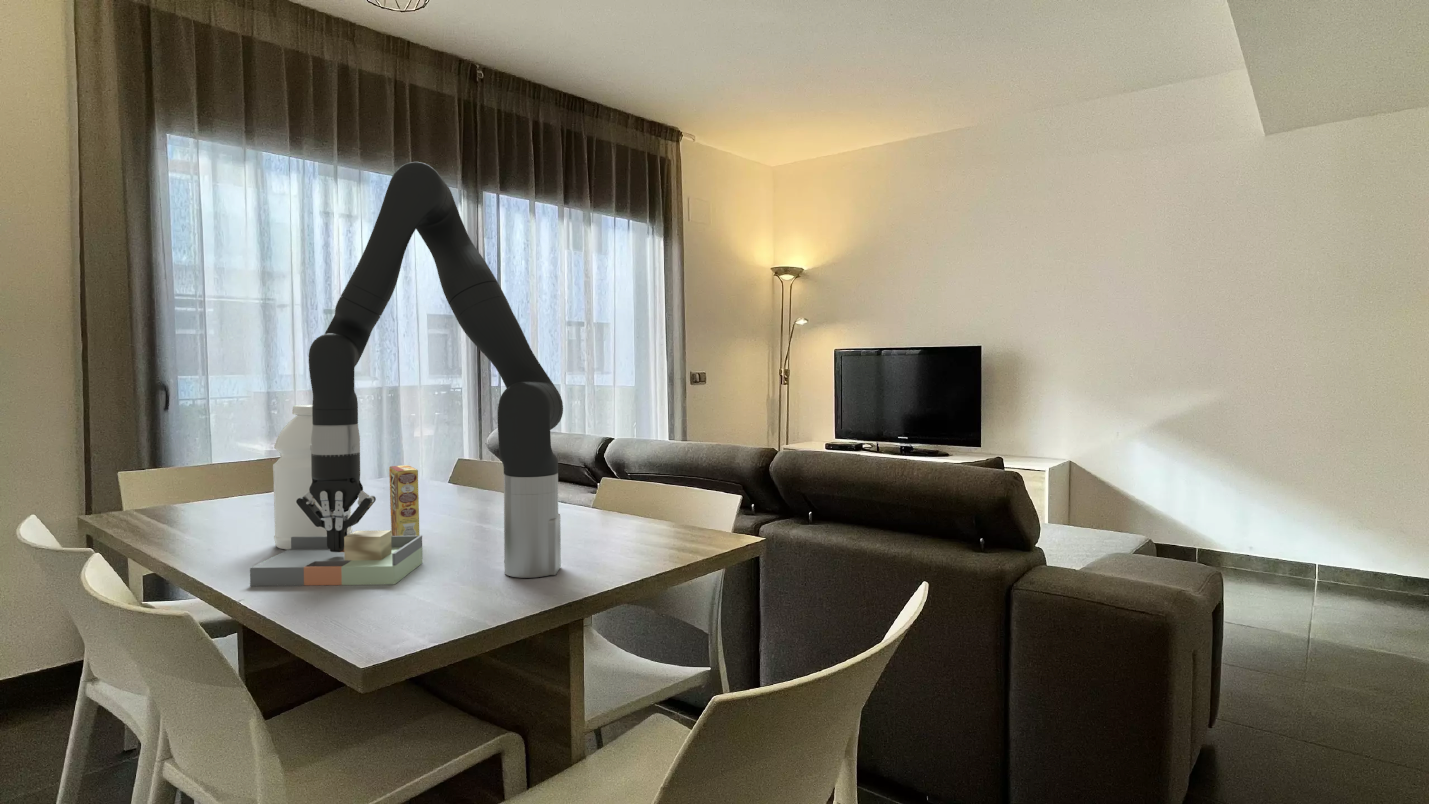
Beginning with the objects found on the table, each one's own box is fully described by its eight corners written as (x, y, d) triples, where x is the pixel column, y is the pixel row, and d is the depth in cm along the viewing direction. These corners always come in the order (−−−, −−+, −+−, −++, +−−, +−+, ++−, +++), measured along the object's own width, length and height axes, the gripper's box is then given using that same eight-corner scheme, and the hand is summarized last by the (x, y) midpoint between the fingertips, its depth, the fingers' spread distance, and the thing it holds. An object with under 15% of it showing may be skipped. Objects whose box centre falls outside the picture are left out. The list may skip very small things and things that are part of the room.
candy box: (420, 545, 154) (419, 469, 153) (398, 547, 151) (397, 470, 151) (410, 537, 161) (409, 464, 160) (389, 539, 159) (388, 465, 158)
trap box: (422, 562, 140) (422, 535, 139) (394, 584, 126) (394, 554, 126) (292, 564, 138) (292, 536, 138) (250, 586, 124) (249, 555, 124)
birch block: (391, 552, 135) (391, 530, 134) (380, 560, 130) (380, 536, 129) (356, 553, 134) (356, 530, 134) (344, 560, 129) (344, 536, 129)
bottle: (262, 552, 147) (259, 407, 146) (289, 536, 161) (287, 403, 160) (340, 549, 150) (337, 406, 148) (360, 534, 163) (358, 403, 162)
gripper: (383, 448, 135) (384, 545, 136) (306, 448, 134) (308, 546, 135) (366, 453, 128) (367, 556, 128) (285, 453, 127) (286, 556, 128)
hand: (337, 550), depth 132 cm, fingers closed
